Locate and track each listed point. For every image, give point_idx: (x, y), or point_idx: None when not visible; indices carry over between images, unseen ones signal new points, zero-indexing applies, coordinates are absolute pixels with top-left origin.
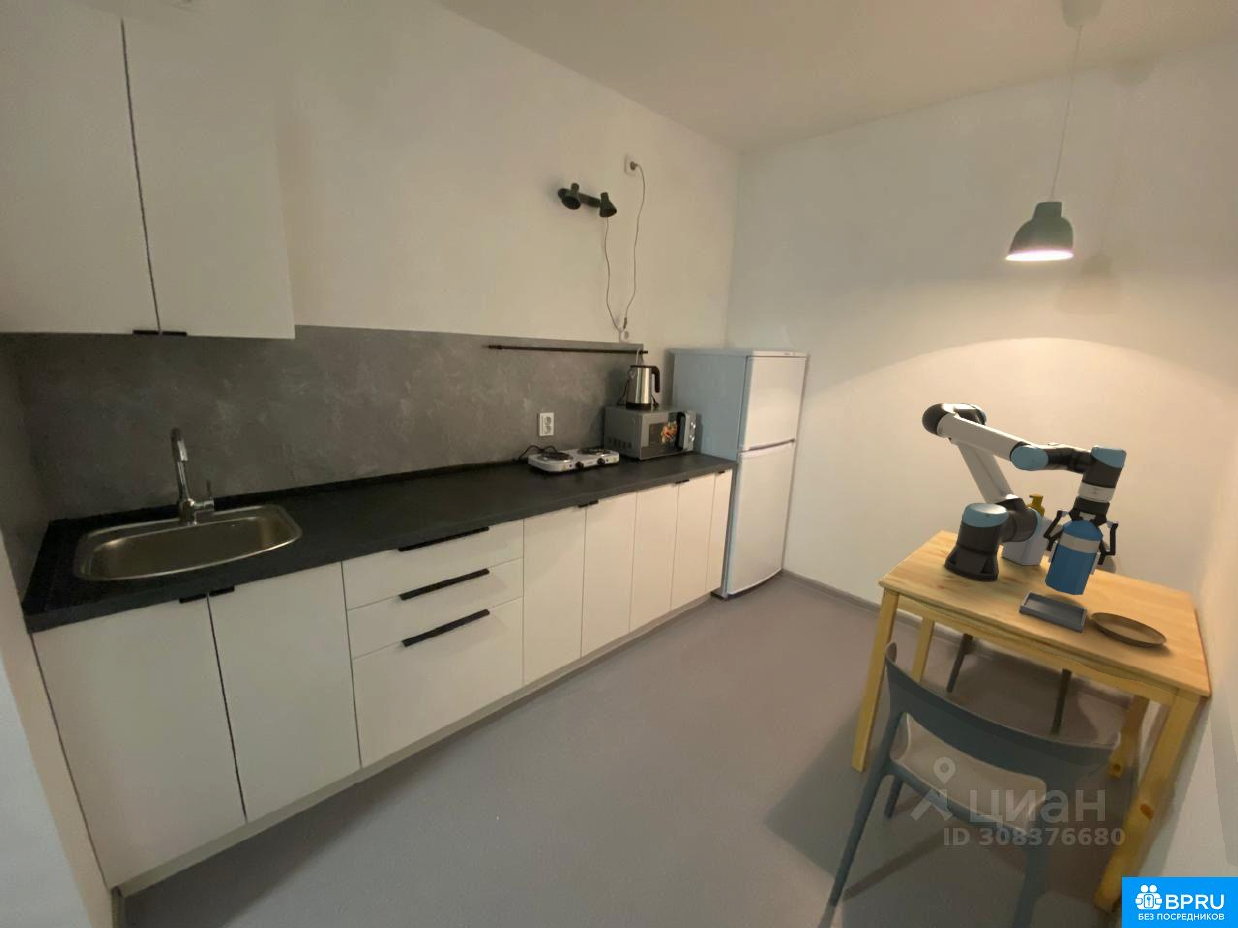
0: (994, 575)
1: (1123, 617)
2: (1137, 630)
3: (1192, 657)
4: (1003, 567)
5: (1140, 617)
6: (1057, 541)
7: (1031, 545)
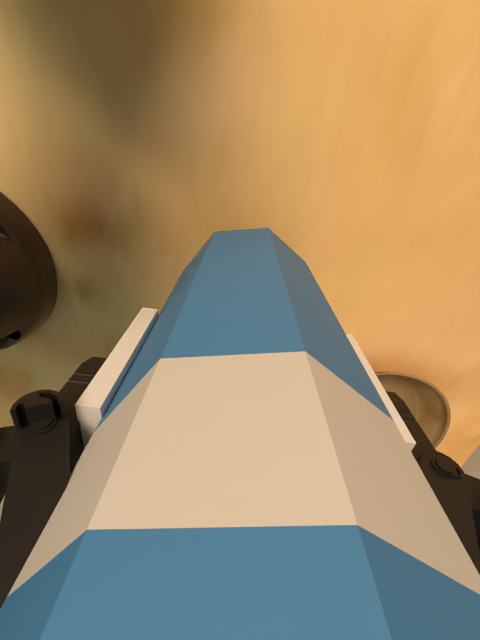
0: (39, 315)
1: (388, 373)
2: (405, 381)
3: (471, 432)
4: (12, 59)
5: (472, 264)
6: (97, 410)
7: None
